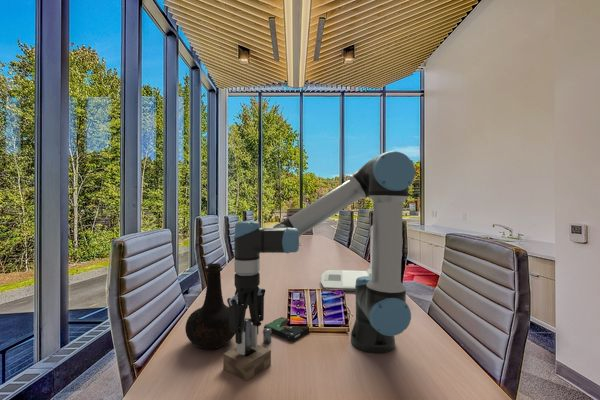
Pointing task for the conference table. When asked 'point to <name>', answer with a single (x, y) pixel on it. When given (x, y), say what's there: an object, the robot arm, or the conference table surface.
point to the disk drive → (286, 330)
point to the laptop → (346, 274)
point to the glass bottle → (210, 315)
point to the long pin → (247, 336)
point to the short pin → (267, 335)
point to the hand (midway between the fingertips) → (247, 349)
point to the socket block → (247, 362)
